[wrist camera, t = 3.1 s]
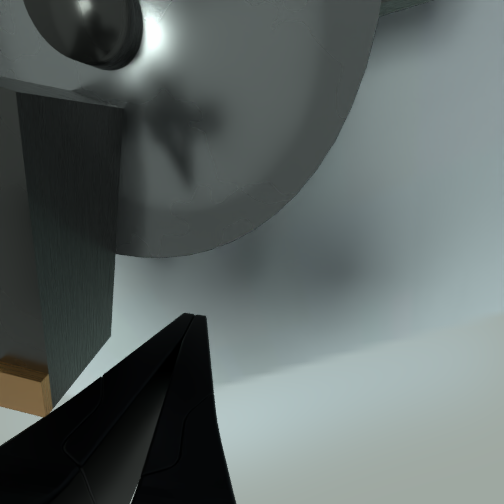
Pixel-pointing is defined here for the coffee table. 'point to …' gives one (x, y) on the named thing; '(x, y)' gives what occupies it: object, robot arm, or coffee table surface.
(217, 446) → the robot arm
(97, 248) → the lid
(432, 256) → the coffee table surface
